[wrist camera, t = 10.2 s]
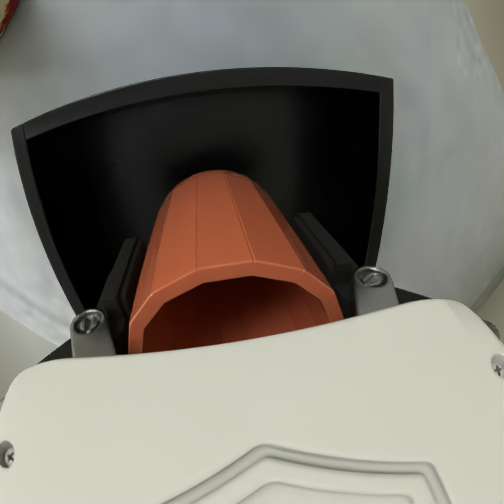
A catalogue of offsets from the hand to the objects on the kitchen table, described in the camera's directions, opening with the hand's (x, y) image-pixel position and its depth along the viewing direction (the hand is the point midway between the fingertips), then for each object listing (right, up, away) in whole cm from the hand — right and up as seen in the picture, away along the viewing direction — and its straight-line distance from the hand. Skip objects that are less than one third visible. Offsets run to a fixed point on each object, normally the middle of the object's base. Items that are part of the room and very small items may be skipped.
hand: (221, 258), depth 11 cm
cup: (-1, +1, +3) cm, 3 cm away
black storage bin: (-1, +4, +6) cm, 7 cm away
